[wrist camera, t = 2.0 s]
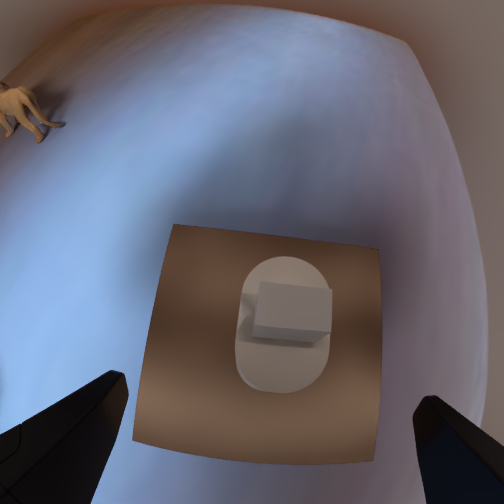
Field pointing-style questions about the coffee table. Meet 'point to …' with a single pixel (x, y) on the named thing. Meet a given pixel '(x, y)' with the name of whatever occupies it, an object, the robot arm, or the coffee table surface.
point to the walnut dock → (224, 360)
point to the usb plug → (283, 325)
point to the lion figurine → (21, 110)
